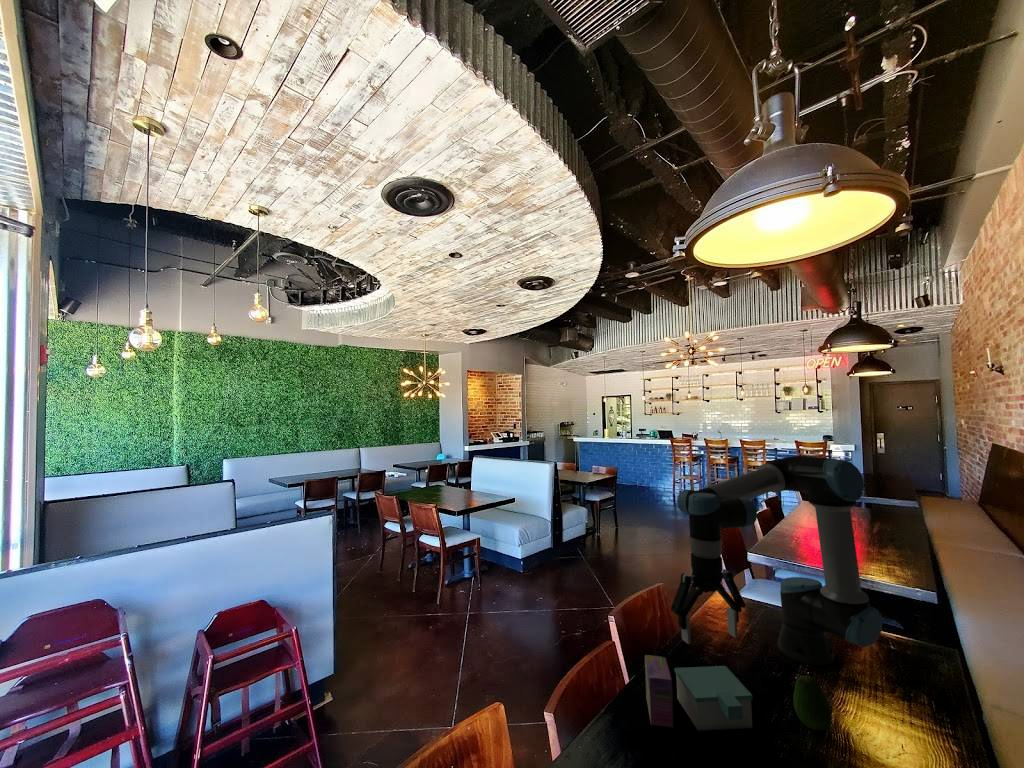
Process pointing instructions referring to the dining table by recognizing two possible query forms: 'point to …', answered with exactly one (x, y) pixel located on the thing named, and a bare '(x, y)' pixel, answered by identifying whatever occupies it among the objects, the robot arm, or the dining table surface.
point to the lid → (715, 688)
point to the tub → (711, 712)
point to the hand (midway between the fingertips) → (709, 638)
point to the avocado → (811, 704)
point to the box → (659, 691)
